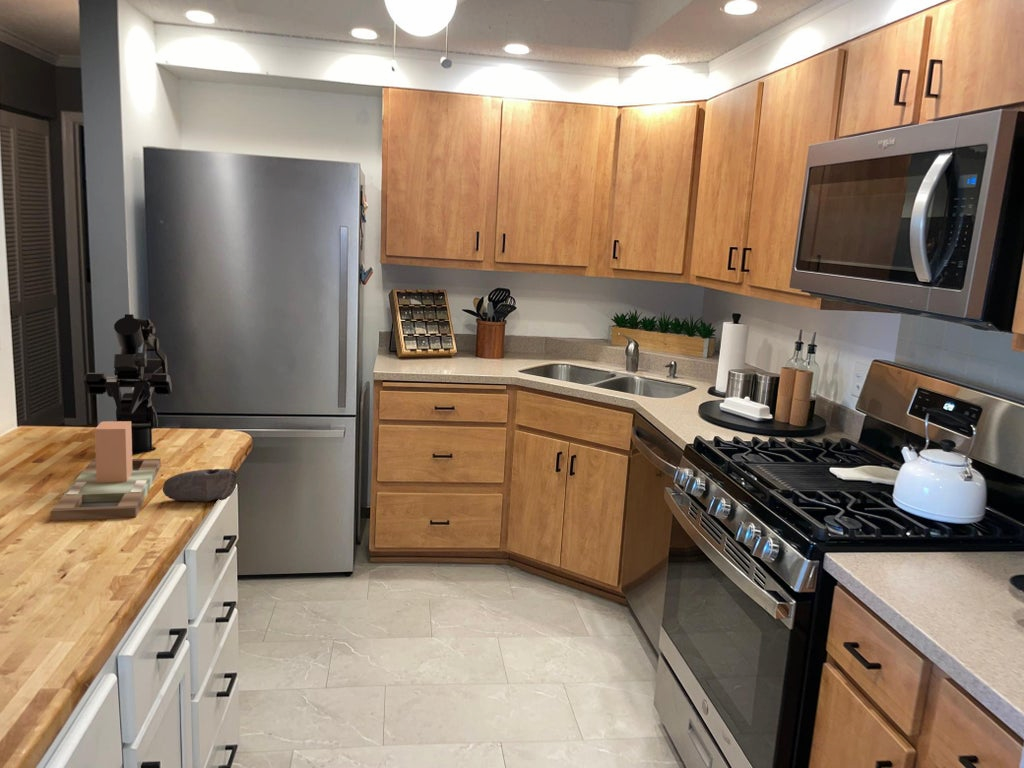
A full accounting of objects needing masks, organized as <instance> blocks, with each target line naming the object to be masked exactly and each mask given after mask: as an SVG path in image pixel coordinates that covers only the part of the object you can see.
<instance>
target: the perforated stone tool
mask: <svg viewBox="0 0 1024 768" xmlns="http://www.w3.org/2000/svg"><path fill="white" fill-rule="evenodd" d="M237 476H238V472H237V471H236V470H235V469H233V468H215V469H214V468H213V469H212V468H211V469H210V468H207V469H199V470H191V471H187V472H182V473H178V474H175V475H173V476H171V477H169V478H167V479H166V480H165V481H164V484H163V487H162V492H163V494H164V495H165V496H166V497H167V498H169V499H170V500H174V501H178V502H186V501H189V500H190V502H192V501H194V502H195V503H198V502H200V501H201V503H203V502H204V503H205V502H211V501H215V500H219V501H224V500H227V499H228V497H231V496H232V494H233V493H234V491H235V490H236V487H237V482H238V477H237ZM196 501H198V502H196Z"/></svg>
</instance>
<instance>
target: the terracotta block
mask: <svg viewBox="0 0 1024 768" xmlns="http://www.w3.org/2000/svg"><path fill="white" fill-rule="evenodd" d="M94 442H95V445H94V446H95V448H94V449H95V450H94V451H95V460H96V479H97V482H125V481H127V480H128V479H129V477H130V475H131V474H132V472H133V469H132V459H133V454H132V431H131V421H117V420H115V421H112V420H111V421H109V420H108V421H107V420H106V421H101V422H99V424H98V425H97V426H96V428H94Z"/></svg>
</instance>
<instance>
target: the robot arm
mask: <svg viewBox="0 0 1024 768" xmlns="http://www.w3.org/2000/svg"><path fill="white" fill-rule="evenodd" d="M113 324H114V325H113V328H114V332H115V336H116V339H117V344H118V345H119V347H120V351H119V352H120V353H117V354H116V353H115V354H114V355H113V356H114V357H113V358H114V359H113V369H114V376H105V372H87V373H86V374H84V377H83V384H84V387H85V389H86V393H87V394H89V395H104V394H105V393H106V394H107V396H108V397H109V398H113V400H114V402H115V407H116V409H115V417H116V421H131V431H132V455H138V454H142V453H146V452H151V451H155V450H157V447H156V446H153V433H152V432H153V431H152V430H153V429H155V428H158V425H159V423H158V415H157V411H156V410H155V408H154V407H155V406H154V405H153V403H152V399H151V398H152V394H153V392H154V393H155V394H156V395H161V396H162V395H167V396H168V395H171V394H172V389H173V388H172V381H171V380H172V379H171V375H169V373H168V359H167V358H168V357H167V353H166V352H165V351H164V350H163V349H162V347H160V341H159V338H158V337H155V335H154V334H155V333H156V327H155V325H154V323H153V322H152V321H151V320H150V318H135V315H134V314H132V313H131V314H129V313H127V314H126V313H125V314H124V317H121V318H120V319H119V318H118V320H117V321H115V322H114V323H113ZM147 352H154V353H155V355H156V356H157V357H158V358H148V354H147ZM121 388H133V390H132V392H125V393H124V394H122V391H121Z"/></svg>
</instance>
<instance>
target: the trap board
mask: <svg viewBox="0 0 1024 768" xmlns="http://www.w3.org/2000/svg"><path fill="white" fill-rule="evenodd" d="M161 467H162V465H161V458H132V469H133V472H132V474H131V475H130V477H129V479H128V480H127V481H125V482H97V479H96V459H92V460H91V461H90V462H89V463H88V464H87V466H86V467H85V468H84V469H83V471H82V472H81V473H80V474H79V475H78V477H77V478H76V479H75V480H74V482H73V483H72V484H71V485H70V487H69V488H68V489H67V491H65V493H64V494H63V495H62V496H61V498H60V499H59V500H58V501H57V503H56V504H55V505H54V506H53V508H52V509H51V510H50V521H54V522H55V521H74V520H75V521H76V520H77V521H78V520H99V519H101V520H103V519H105V520H106V519H128V518H136V517H137V516H138V513H139V511H140V509H141V507H142V505H143V503H144V501H145V499H146V497H147V495H148V493H149V491H150V489H151V487H152V485H153V483H154V481H155V479H156V477H157V475H158V474H159V472H160V471H159V470H160V468H161Z"/></svg>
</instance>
